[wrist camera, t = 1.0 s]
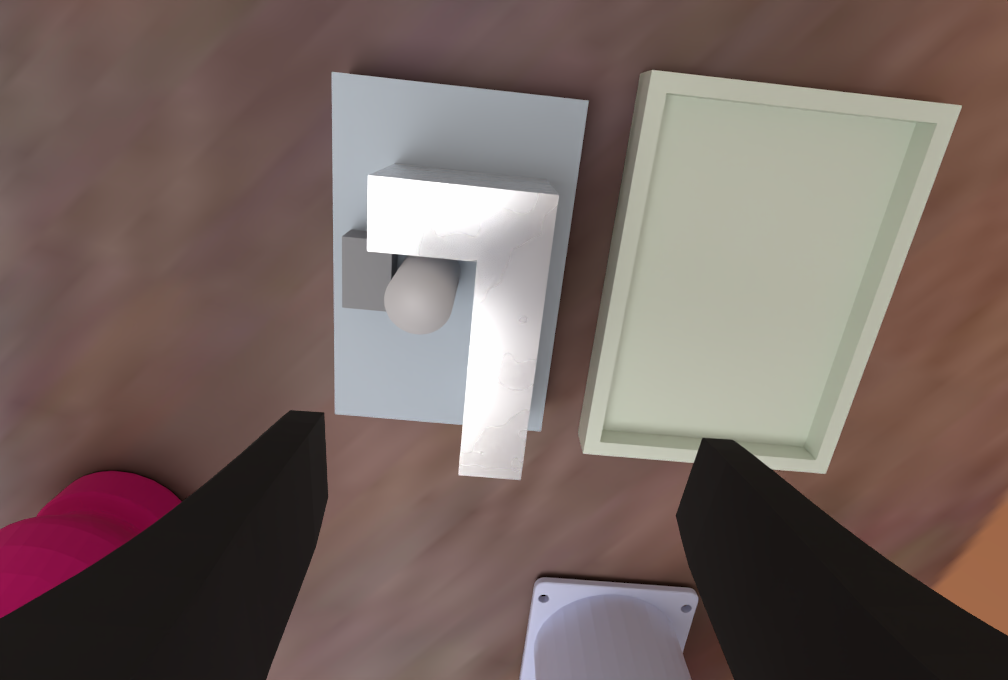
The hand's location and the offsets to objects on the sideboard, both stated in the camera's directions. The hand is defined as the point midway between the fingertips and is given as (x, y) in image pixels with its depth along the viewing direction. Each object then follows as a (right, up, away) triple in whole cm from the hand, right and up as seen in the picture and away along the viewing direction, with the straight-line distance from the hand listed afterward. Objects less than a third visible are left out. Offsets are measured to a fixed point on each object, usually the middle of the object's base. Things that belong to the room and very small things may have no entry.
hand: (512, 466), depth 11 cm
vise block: (-2, +5, +11) cm, 12 cm away
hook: (-2, +4, +9) cm, 10 cm away
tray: (+9, +4, +11) cm, 15 cm away
